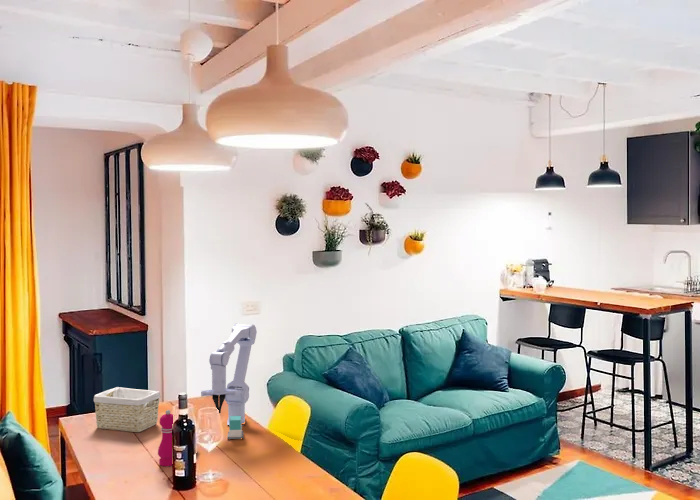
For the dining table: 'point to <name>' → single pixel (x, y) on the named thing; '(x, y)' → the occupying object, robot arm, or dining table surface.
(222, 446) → the dining table surface
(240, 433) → the cream brick
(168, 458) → the pepper mill
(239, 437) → the baseplate
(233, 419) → the teal brick
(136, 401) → the storage basket
